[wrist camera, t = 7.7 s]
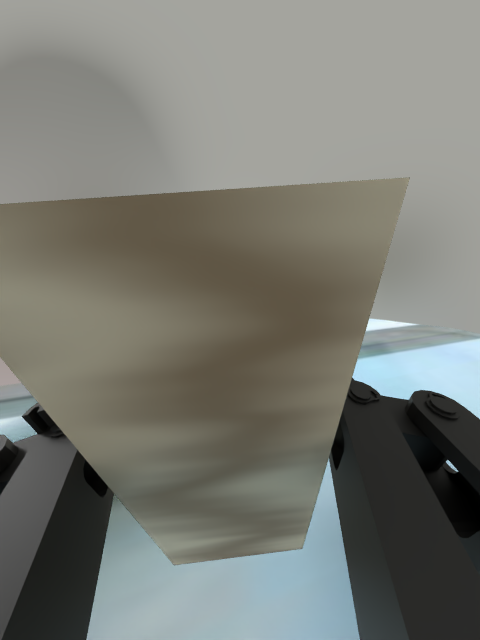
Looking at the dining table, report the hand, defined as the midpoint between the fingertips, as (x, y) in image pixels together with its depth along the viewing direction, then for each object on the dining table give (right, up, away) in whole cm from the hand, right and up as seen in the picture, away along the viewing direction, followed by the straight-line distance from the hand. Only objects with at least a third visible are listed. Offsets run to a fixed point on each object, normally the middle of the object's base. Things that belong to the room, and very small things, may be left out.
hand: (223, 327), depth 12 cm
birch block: (+1, -9, -1) cm, 9 cm away
